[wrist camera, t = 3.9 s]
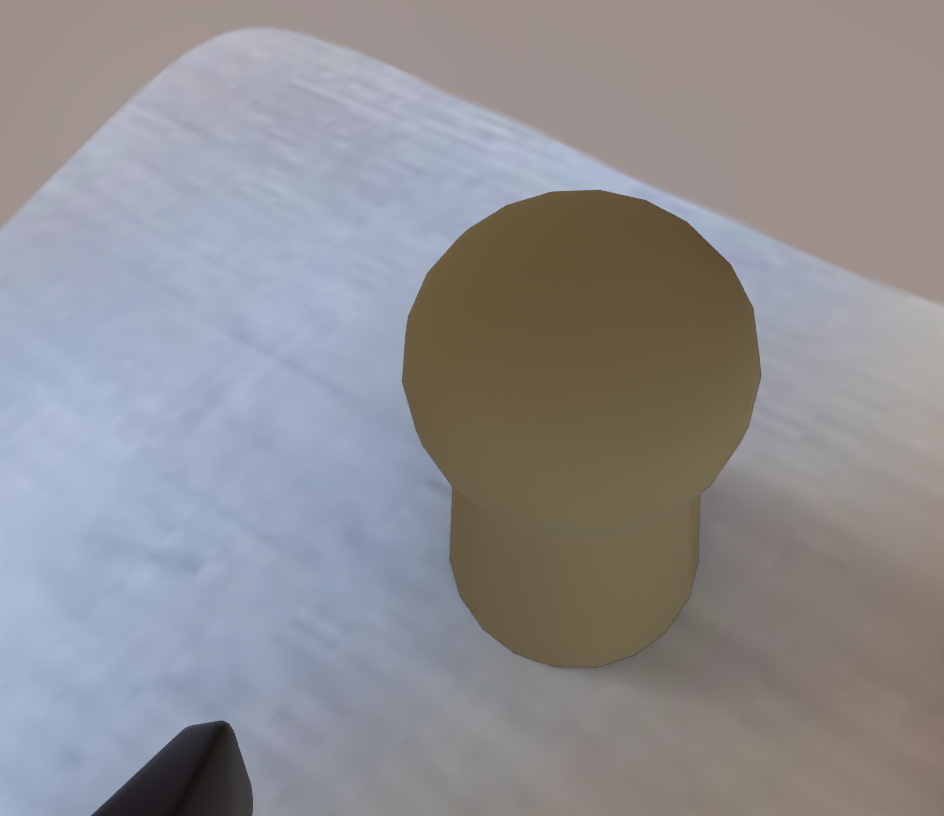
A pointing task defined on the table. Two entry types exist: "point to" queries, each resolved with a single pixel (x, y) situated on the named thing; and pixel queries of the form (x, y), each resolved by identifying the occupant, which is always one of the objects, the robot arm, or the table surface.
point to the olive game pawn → (579, 415)
